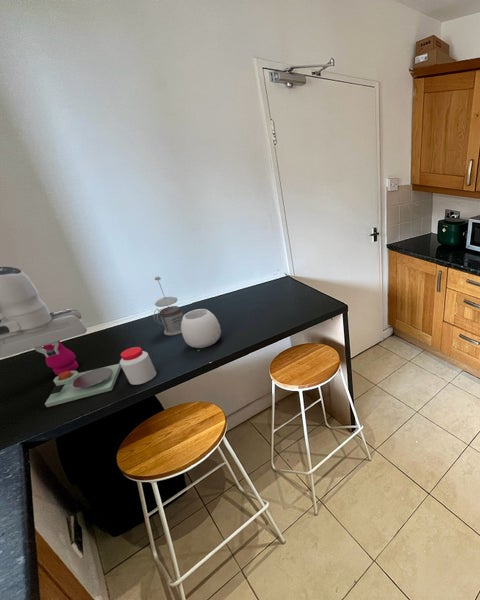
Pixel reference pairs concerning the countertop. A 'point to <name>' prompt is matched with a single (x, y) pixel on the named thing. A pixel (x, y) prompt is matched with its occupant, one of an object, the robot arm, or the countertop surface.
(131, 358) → the pill bottle
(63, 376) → the button
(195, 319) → the white round vase
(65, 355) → the pepper mill
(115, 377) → the scale
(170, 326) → the french press
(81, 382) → the scale top
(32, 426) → the countertop surface
